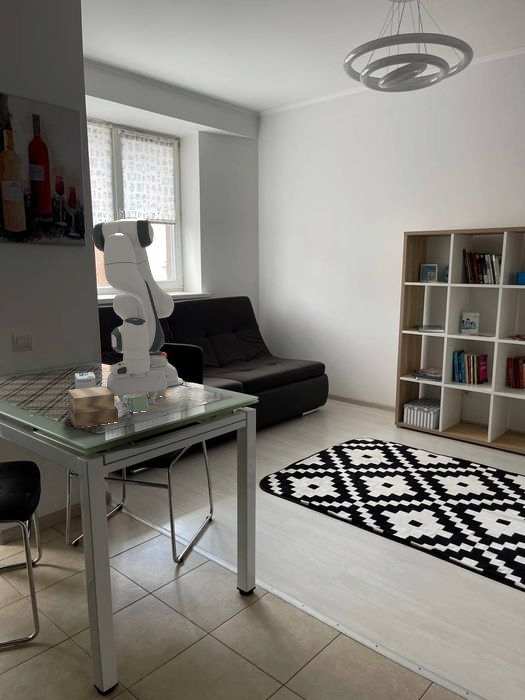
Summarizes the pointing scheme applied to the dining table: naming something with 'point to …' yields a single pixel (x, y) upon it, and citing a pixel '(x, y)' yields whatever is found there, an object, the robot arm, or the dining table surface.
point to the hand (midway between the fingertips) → (138, 405)
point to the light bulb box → (85, 380)
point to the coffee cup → (162, 361)
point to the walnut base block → (93, 417)
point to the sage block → (138, 403)
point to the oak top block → (91, 399)
